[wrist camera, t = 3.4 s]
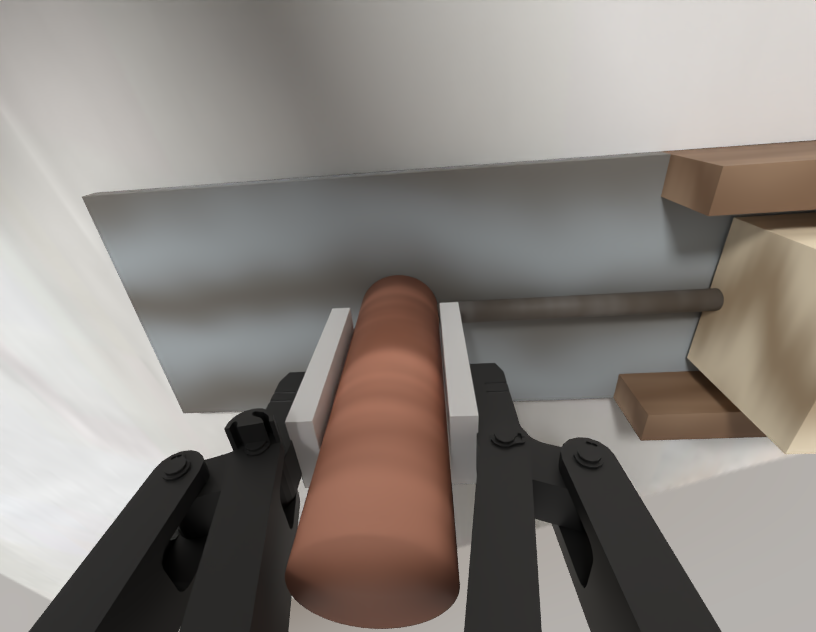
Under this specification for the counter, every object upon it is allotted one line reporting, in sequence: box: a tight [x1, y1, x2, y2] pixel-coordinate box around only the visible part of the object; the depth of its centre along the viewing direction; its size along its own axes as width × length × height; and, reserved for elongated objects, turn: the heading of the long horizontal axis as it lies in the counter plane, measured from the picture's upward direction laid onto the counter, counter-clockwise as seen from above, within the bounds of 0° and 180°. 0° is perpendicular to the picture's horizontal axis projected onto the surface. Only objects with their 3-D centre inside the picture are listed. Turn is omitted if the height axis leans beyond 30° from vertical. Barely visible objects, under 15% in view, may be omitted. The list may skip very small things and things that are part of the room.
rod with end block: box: [285, 212, 816, 629], centre depth 13 cm, size 7×23×12 cm, turn 94°
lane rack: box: [82, 140, 816, 441], centre depth 17 cm, size 12×37×5 cm, turn 94°
